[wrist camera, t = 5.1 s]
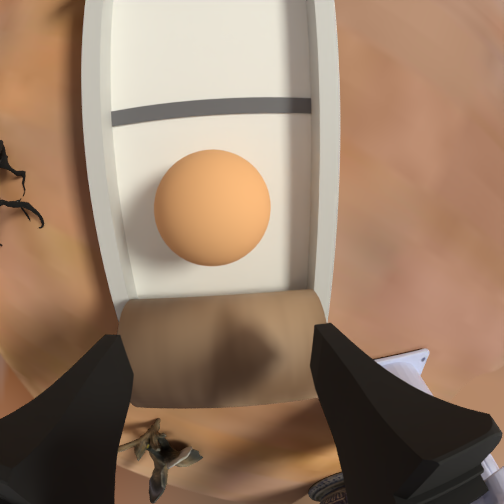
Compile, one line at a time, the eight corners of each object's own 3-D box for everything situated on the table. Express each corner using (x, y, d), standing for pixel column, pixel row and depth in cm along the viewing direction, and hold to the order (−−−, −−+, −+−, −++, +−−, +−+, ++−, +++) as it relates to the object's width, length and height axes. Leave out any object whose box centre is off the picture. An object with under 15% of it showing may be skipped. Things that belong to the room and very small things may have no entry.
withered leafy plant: (100, 426, 22) (137, 481, 24) (120, 476, 17) (163, 526, 19) (170, 397, 26) (196, 454, 28) (205, 437, 21) (230, 492, 23)
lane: (311, 349, 21) (325, 388, 18) (145, 358, 21) (135, 399, 17) (313, -42, 11) (334, -74, 7) (106, -29, 10) (82, -57, 7)
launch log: (298, 349, 20) (320, 418, 14) (156, 357, 19) (141, 428, 14) (304, 269, 18) (337, 334, 12) (137, 279, 17) (105, 346, 11)
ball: (284, 238, 10) (269, 123, 12) (134, 246, 10) (147, 131, 11) (269, 275, 15) (261, 184, 16) (166, 281, 15) (168, 190, 16)
